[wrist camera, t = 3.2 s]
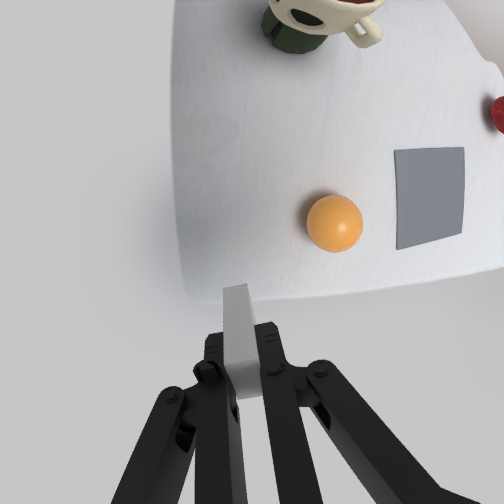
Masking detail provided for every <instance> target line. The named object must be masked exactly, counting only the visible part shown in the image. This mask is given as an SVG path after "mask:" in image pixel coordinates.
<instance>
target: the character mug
mask: <svg viewBox="0 0 504 504" xmlns="http://www.w3.org/2000/svg"><path fill="white" fill-rule="evenodd" d="M386 1H387V0H268V3H269V7H268V9H267V10H266V12H265V14H264V17H263V20H262V24H261V25H262V29H263V33H264V36H265V37H266V38H267V36H268V35H269V33H270V32H271V33H272V35H273V37H275V38H276V39H275V40H274V42H273V45H274V46H275V47H277V48H279V49H281V50H284V51H286V52H289V53H300V54H303V53H306V52H309V51H312V50H315V49H316V48H317V47H319V46H320V45H321V44H322V43H323V42H324V40H325V39H326V38H327V36H328V35H332V34H337V33H341V32H345V33H346V34H347V35H348V37H349V38H350V39H351V40H352V42H353V43H354V44H355V45H356V46H357V47H358V48H368V47H370V46H372V45H374V44H376V43H378V42H380V40H381V39H382V37H383V34H382V32H381V30H380V29H379V27H378V26H377V25H376V23H375V22H374V21H373V20H372V18H371V17H370V16H369V14H371V13H372V12H374V11H375V10H376V9H378V8H379V7H380V6H381V5H383V4H384V3H385V2H386ZM356 23H359V24H360V25H361V26H362V28H363V29H364V30H365V31H366V33H365V34H363V35H362V34H361V33H360V32H359V30H358V29H357V28H356V27H355V24H356Z"/></svg>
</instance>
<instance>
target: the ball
mask: <svg viewBox="0 0 504 504" xmlns="http://www.w3.org/2000/svg"><path fill="white" fill-rule="evenodd" d="M362 229H363V219H362V215H361V213H360V211H359V209H358V207H357V206H356V205H355V204H354V203H353V202H352V201H351V200H349V199H348V198H346V197H343V196H339V195H329V196H326V197H323V198H321V199H319V200H318V201H317V202H315V203H314V205H313V206H312V207H311V209H310V211H309V213H308V216H307V231H308V234H309V236H310V238H311V240H312V241H313V242H314V243H315V244H316V245H317V246H318V247H319V248H321V249H323V250H325V251H328V252H334V253H335V252H342V251H345V250H348V249H349V248H351V247H352V246H353V245H354V244H355V243H356V242H357V241H358V239H359V238H360V236H361V233H362Z"/></svg>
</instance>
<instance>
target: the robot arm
mask: <svg viewBox="0 0 504 504" xmlns="http://www.w3.org/2000/svg"><path fill="white" fill-rule="evenodd" d="M223 324H224V325H223V332H219V333H213V334H209V335H208V337H207V339H206V340H205V350H204V360H202V361H200V362H199V363H197V364H196V365H195V367H194V369H193V373H194V375H195V377H196V378H197V380H198V383H197V384H196V385H194V386H192V387H189V388H187V389H184V390H182V389H181V388H180V387H176V386H170V387H168V388H165V389H164V390H162V391H161V393H160V394H159V396H158V398H157V400H156V402H155V404H154V406H153V409H152V411H151V413H150V415H149V417H148V420H147V422H146V424H145V426H144V428H143V431H142V433H141V435H140V437H139V439H138V442H137V444H136V446H135V449H134V451H133V453H132V455H131V457H130V460H129V462H128V464H127V467H126V469H125V471H124V474H123V476H122V478H121V481H120V483H119V485H118V488H117V490H116V492H115V495H114V497H113V499H112V502H111V504H177V503H178V500H179V497H180V494H181V491H182V488H183V485H184V482H185V478H186V475H187V472H188V469H189V466H190V462H191V459H192V456H193V453H194V450H195V504H248V501H247V493H246V482H245V472H244V462H243V451H242V440H241V428H240V417H239V408H238V405H237V402H236V396H237V399H238V400H239V399H245V398H251V397H257V396H263V400H264V406H265V413H266V419H267V426H268V432H269V439H270V445H271V451H272V458H273V464H274V471H275V477H276V483H277V489H278V495H279V501H280V504H323V501H322V497H321V493H320V489H319V485H318V480H317V476H316V473H315V468H314V465H313V461H312V457H311V453H310V449H309V445H308V441H307V437H306V433H305V429H304V425H303V422H302V417H301V414H300V410H299V407H310V409H311V410H312V412H313V413H314V415H315V416H316V418H317V419H318V421H319V422H320V424H321V425H322V427H323V428H324V430H325V431H326V433H327V434H328V436H329V437H330V439H331V440H332V442H333V443H334V445H335V446H336V447H337V449H338V450H339V452H340V453H341V455H342V456H343V457H344V459H345V460H346V462H347V463H348V465H349V466H350V468H351V469H352V470H353V472H354V473H355V475H356V476H357V477H358V479H359V480H360V482H361V483H362V484H363V486H364V487H365V488H366V490H367V491H368V493H369V494H370V495H371V497H372V498H373V500H374V501H375V502H376V504H480V503H479V502H476V501H473V500H471V499H468V498H465V497H463V496H460V495H458V494H455V493H452V492H450V491H448V490H445V489H443V488H441V487H440V486H439V485H438V484H437V483H436V482H435V480H434V479H433V478H432V477H431V476H430V475H429V474H428V473H427V471H426V470H425V469H424V468H423V467H422V466H421V465H420V463H419V462H417V460H416V459H415V458H414V457H413V456H412V454H411V453H410V452H409V451H408V450H407V449H406V448H405V446H404V445H402V443H401V442H400V441H399V439H398V438H397V437H396V436H395V435H394V434H393V433H392V432H391V430H390V429H389V428H388V427H387V426H386V425H385V423H384V422H383V421H382V420H381V419H380V418H379V416H378V415H377V414H376V413H375V412H374V411H373V409H372V408H371V407H370V406H369V405H368V404H367V402H366V401H365V400H364V399H363V398H362V397H361V396H360V394H359V393H358V392H357V391H356V390H355V388H354V387H353V386H352V385H351V384H350V383H349V382H348V380H347V379H346V378H345V377H344V376H343V375H342V373H341V372H340V371H339V370H338V369H337V367H336V366H335V365H334V364H333V363H332V362H330V361H327V360H317V361H314V362H312V363H311V364H309V365H308V367H296V366H293V365H291V364H289V363H288V362H287V360H286V358H285V354H284V350H283V347H282V343H281V339H280V335H279V331H278V328H277V326H276V325H275V324H274V323H273V322H268V323H263V324H258V325H256V321H255V316H254V312H253V307H252V303H251V299H250V295H249V290H248V286H247V284H242V285H237V286H232V287H227V288H223Z"/></svg>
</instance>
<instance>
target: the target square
mask: <svg viewBox="0 0 504 504" xmlns="http://www.w3.org/2000/svg"><path fill="white" fill-rule="evenodd" d="M394 156H395V170H396V190H397V244H396V250H400V249H404V248H408V247H412V246H415V245H419V244H423V243H427V242H431V241H434V240H438V239H442V238H445V237H449V236H453V235H456V234H460V233H462V223H463V210H464V189H465V158H464V148H427V149H408V150H394Z"/></svg>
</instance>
